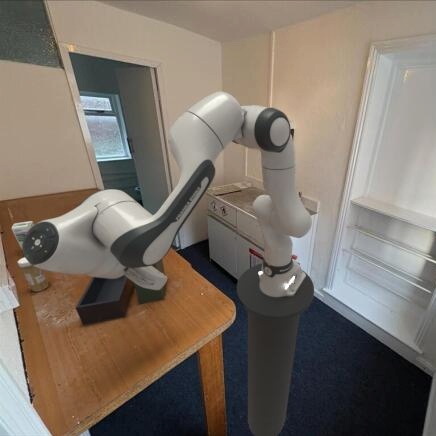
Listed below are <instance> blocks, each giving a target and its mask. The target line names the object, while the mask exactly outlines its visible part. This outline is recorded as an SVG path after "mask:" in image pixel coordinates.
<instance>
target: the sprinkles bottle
mask: <svg viewBox="0 0 436 436" xmlns="http://www.w3.org/2000/svg"><path fill="white" fill-rule="evenodd" d="M17 265H18V266H19V267H20V269H21V271H22V272H23V275H24V277H25V279H26V280H27V282H28V285H30V288H31V290H32V292H36V293H37V292H41V291H43V290H46V289H47V288H49V285H50V284H49V283H48V281H47V279H46V276H45V274H44V272H43V269H40V268H37V267H35V266H33V265H31V264H30V263H29V262H28V261H27V259H26V258H25V257H21V258H20V259H18V260H17Z"/></svg>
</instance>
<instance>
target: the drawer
mask: <svg viewBox="0 0 436 436" xmlns="http://www.w3.org/2000/svg"><path fill="white" fill-rule="evenodd" d="M134 288H135V286H134V283H133V281H132V280H130V279H129V278H128V277H126V276H125V275H123V276H121V277H119V278H115V279H107V278H97V277H91V279H90V281H89V283H88V284H87V286H86V288H85V289H84V292H83V293H82V296H81V297H80V299H79V300H78V302H77V304H76V306H75V311H76V313H77V315H78V317H79V320H80V322H81V324H82V326H85V325H90V324H91V325H92V324H95V323H101V322H106V321H110V320H115V319H121V318H125V316H126V313H127V309H128V306H129V303H130V300H131V297H132V293H133V290H134Z"/></svg>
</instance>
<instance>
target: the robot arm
mask: <svg viewBox="0 0 436 436" xmlns="http://www.w3.org/2000/svg"><path fill="white" fill-rule="evenodd" d="M291 132H292V129H291V123H290V120H289V117H288V116H287V115H286V113H284V112H283V111H282V110H280V109H277V108H275V107H267V106H263V105H257V104H252V105H242V104H240V103H239V101H238V100H237V99H236V98H235V97H234V96H233V95H231V94H230V93H229V92H226V91H216V92H213V93H211V94H209V95H207V96H206V97H204V98H202V99H201V100H199V101H197V102H196V103H195V104H193V105H192V106H191V107H190V108H189V109H187V110H186V111H185V112H184V113H182V115H180V116H179V117H178V118H177V119H176V120H175V121H174V122H173V123H172V124H171V126H170V128H169V129H168V132H167V143H168V149H169V151H170V153H171V155H172V157H173V158H174V160H175V162H176V164H177V166H178V168H179V174H180V175H179V181H178V183H177V185H176V186H175V188H174V189H173V190H172V192H171V193H170V194H169V196H168V197H167V198H166V200H165V201H164V202H163V204H162V205H161V207H160V208H159V209H158V210H157V212H156V213H154V214H152V213H150V212H149V211H148V210H147V209H146V208H144V207H143V206H142V205H141V204H140V203H139V202H138V201H136V200H135V199H134V198H133V197H132V196H130V195H129V194H128V193H126V191H124V190H121V189H118V188H106V189H105V188H104V189H101V190H98V191H95V192H93V193H91V194H89V195H88V196H87V197H85V198H84V199H83V200H81V202H80V203H79V204H78V205H77V206H76V207H75V208H73V209H72V210H70V211H68V212H67V213H64V214H63V215H62V214H61V215H60V216H57V217H53V218H48V219H43V220H41V221H38V222H37V223H35V224H34V226H32V227H31V228H30V229H29V230H28V232H27V233H26V235H25V237H24V240H23V244H22V249H21V251H22V250H23V251H22V254H23V256H24V258H26V259H27V261H28V262H29V263H30V264H31V265H33V266H35V267H37V268H40V269H41V270H42V271H47V272H52V273H57V274H62V275H70V276H82V275H85V276H87V277H91V278H92V277H97V278H107V279H115V278H119V277H121V276H123V275H125V276H126V277H128V278H129V279H130V280H132V281H133V282H134V283H136V284H137V285H139V286H141V287H143V288H147V289H152V290H160V289H161V288H162V287H163V286H164V285H165V286H166V284H165V283H167V281H168V280H169V279H168V276H167V275H166V274H165V275H164V274H163V273H162V272H161V271H158V270H157V269H156V268H154V267H153V266H152V265H154V264H156V263H158V262H159V261H160V260H163V259H164V258H166V255H168V253H169V252H170V250H171V248H172V246H173V244H174V242H175V240H176V238H177V235H178V234H179V232H180V230H181V229H182V227H183V226H184V225H185V223H186V222H187V220H188V219H189V217H190V216H191V214H192V213H193V211H194V210H195V208H196V207H197V206H198V204H199V203H200V201H201V200H202V199H203V197H204V196H205V194H206V192H207V191H208V189H209V188H210V186H211V184H212V182H213V181H214V178H215V176H216V167H215V164H216V160H217V159H218V157H219V156H220V154H221V153H222V152H223V151H224V150H225V149H226V148H227V147H228V146H229V145H230V143H234V144H235V145H236V144H237V145H240V146H244V147H245V148H248V149H253V150H254V149H255V150H259V151H260V163H261V175H262V176H261V177H262V185H263V190H264V192H266V194H261V195H259V196H257V197H256V198H255V200H254V201H253V204H252V209H251V211H252V214H253V215H254V217H255V218H256V220H257V222H258V224H259V227H260V231H261V234H262V238H263V245H264V250H263V257H262V263H263V264H262V269H261V272H259V279H260V283H259V287H260V290H261V291H262V292H263V293H264V294H266V295H268V296H271V297H282V296H294V295H295V293H296V291H297V290H298V288H299V287H300V285H301V284H302V282H303V281H304V279H305V277H306V274H307V273H306V272H305V271H304V270H303V269H302V266H301V263H299V262H298V261H297V259H298V255H296V254H293V247H294V245H293V244H294V243H293V240H292V238H296V239H301V238H303V237H305V236H306V235H308V233H309V232H310V231H311V228H312V224H313V218H312V215H311V214H310V212H309V211H308V210H307V209H306V207H305V206H304V204H303V202H302V199H301V197H300V194H299V191H298V186H297V178H296V177H297V176H296V151H295V143H294V139H293V135H292V134H291ZM302 270H303V271H304V272H305V273H306V274H305V273H304V272H303V271H302Z"/></svg>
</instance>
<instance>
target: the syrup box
mask: <svg viewBox="0 0 436 436" xmlns="http://www.w3.org/2000/svg"><path fill="white" fill-rule="evenodd" d="M34 225H35V224H34V221H33V220H30V221H23V222H16V223H15V222H14V223H13V225H12V226H11V231H12V233H13V236H14V237H15V239H16V241H17V243H18V245H19V247H20V249H21V251H22V252H23V250H22V244H23V240H24V237H25V235H26V233H27V232H28V230H29V229H30V228H31V227H32V226H34Z"/></svg>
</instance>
